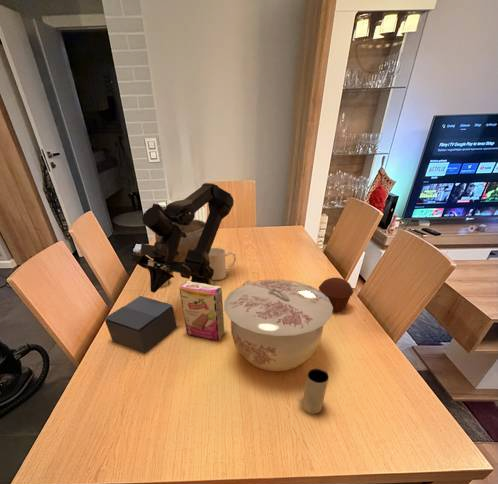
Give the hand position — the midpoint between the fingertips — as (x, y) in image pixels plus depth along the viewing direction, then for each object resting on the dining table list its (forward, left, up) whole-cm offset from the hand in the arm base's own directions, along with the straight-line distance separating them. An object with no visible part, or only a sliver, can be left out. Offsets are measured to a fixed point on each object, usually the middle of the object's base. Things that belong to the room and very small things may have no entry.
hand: (152, 292), depth 92 cm
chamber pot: (-39, +11, -12) cm, 42 cm away
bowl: (+6, -54, -12) cm, 55 cm away
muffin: (-58, -18, -12) cm, 61 cm away
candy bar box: (-17, +4, -12) cm, 21 cm away
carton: (+2, +6, -11) cm, 13 cm away
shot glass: (+9, -28, -12) cm, 31 cm away
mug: (-14, -38, -12) cm, 42 cm away
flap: (+1, +3, -3) cm, 5 cm away
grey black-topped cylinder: (-49, +30, -12) cm, 58 cm away
